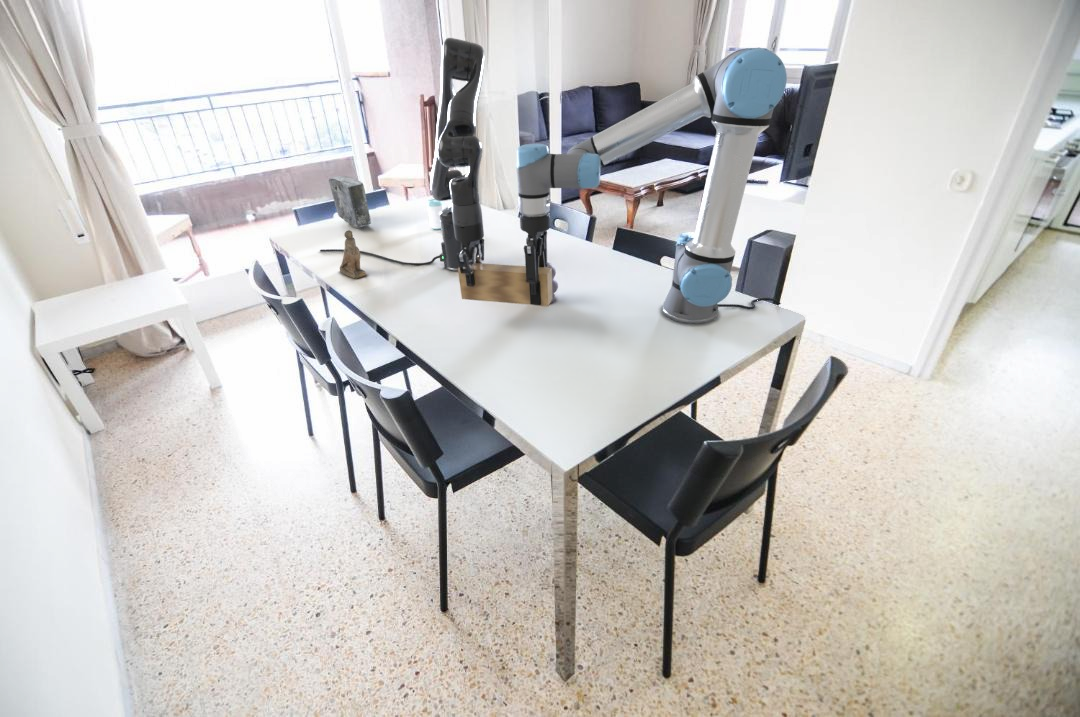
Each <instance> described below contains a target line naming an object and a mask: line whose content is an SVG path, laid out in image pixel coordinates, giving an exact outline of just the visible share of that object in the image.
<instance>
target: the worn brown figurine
mask: <svg viewBox="0 0 1080 717" xmlns="http://www.w3.org/2000/svg"><path fill="white" fill-rule="evenodd" d="M343 236H344V238H346V239H345V240H344V252H342V254H343V255H342V261H341V264H340V266H339V273H341V274H343V275H344V276H347V277H350V278H352V279H356V280H357V279H360V278H362V277H366V276H367V273H366V271H365V270H363V269H362V268H361V253H360V251H361V250H360V249H359V247H358V246H357V244H356V243H357V242H356V239H355V237H354V234H353V231H351V229H348V230H346V231H345V232H344V234H343Z"/></svg>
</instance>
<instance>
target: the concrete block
mask: <svg viewBox="0 0 1080 717" xmlns="http://www.w3.org/2000/svg"><path fill="white" fill-rule="evenodd" d="M328 183H329V188H330V191H331V195H332V198H333V202H334V206H335V209H336V212H337V215H338V217H339V218H341V219H342V220H344V221H345V222H346V224H347V223H348V224H349V225H350V226H351V227H353V228H358V229H359V228H362V227H365V226H369V225H371V224H372V220H371V214H370V210H369V205H368V199H367V194H366V190H365V185H364V183H363V182H362V181H360V180H358V179H357V178H354V177H351V176H347V175H339V176H334V177H333V176H332V177H330V178H329V179H328Z"/></svg>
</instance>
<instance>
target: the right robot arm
mask: <svg viewBox="0 0 1080 717" xmlns="http://www.w3.org/2000/svg"><path fill="white" fill-rule="evenodd" d="M787 76H788V75H787V69H786V66H785V64H784V62H783V60H782V59H781V58H780V57H779V55H777V54H776V53H775V52H773V51H772V50H769V49H768V48H762V47H750V48H741V49H737V50H735V51H733V52H731V53H729V54H728V55H726V56H724V58H722V59H721V60H719V61H717V63H715V64H714V65H711V67H708V68H707V69H706V70H703V71H702V72H700V73H699V74H697V75H695V76H694V78H693V81H692V82H691V83H690V84H688V85H686V86H684V87H682V88H680V89H678V90H677V91H675V92H673V93H671V94H669V95H668V96H666V97H663V98H662V99H660V100H658V101H656V102H654V103H652V104H651V105H649V106H647V107H645V108H643V109H641V110H639V111H637V112H635V113H634V114H631V115H630V116H628V117H627V118H626V117H625V119H623V120H620V121H618V122H617V123H615V124H613V125H611V126H610V127H607V128H606V129H604V130H602V131H600V132H598V133H596V134H594V135H593V136H592V137H589V138H587V139H585V140H583V141H580V142H577V143H575V144H573V145H571V146H570V148H569V149H568V150H567V152H566V153H550V151H549V146H548V145H547V144H545V143H528V144H527V143H526V144H522V145H520V146H519V147H518V148H517V149H516V167H515V168H516V178H517V192H518V194H517V195H518V196H517V197H518V212H519V213H520V214H519V229H520V230H521V231H523V232H525V233H527V237H526V239H525V240H526V241H525V242H526V243H525V244H526V245H524V246H523V253H524V260H525V261H524V265H525V266H526V282H527V283H529V286H530V304H531V305H530V306H540V305H541V291H540V281H539V267H546V268H547V266H548V264H547V262H548V244H547V243H548V240H547V239H548V232H547V231H548V230H550V228H551V214H550V213H549V212H550V210H551V204H552V203H553V201H552V199H550V189H583V190H586V189H595V188H598V187H599V186H600V184H601V168H603V167H605V166H606V165H608V164H610V163H613V162H614V161H616V160H618V159H621V158H622V157H624V156H626V155H628V154H630V153H633V152H634V151H636V150H638V149H640V148H643V147H645V146H646V145H648V144H650V143H652V142H654V141H657V140H658V139H661V138H662V137H664V136H666V135H668V134H670V133H672V132H675V131H676V130H679V129H681V128H682V127H684V126H686V125H688V124H690V123H693V122H694V121H696V120H699V119H701V118H702V117H706V118H709V119H710V118H711V124H712V126H714V128H715V130H716V133H715V137H714V142H713V146H712V152H711V156H710V160H709V165H708V170H707V175H706V178H705V183H704V184H705V185H704V188H703V193H702V197H701V198H702V199H701V202H700V208H699V211H698V217H697V221H696V225H695V231H689V232H688V231H687V232H683V233H681V234H679V235H678V237H677V240H676V243H675V254H674V264H673V271H672V279H671V280H672V282H671V283H672V284H671V287H670V289H669V291H668V292H667V295H666V297H665V299H664V301H663V305H662V313H663V315H664V316H665V317H666V318H668V319H669V320H672V321H673V322H677V323H681V324H687V325H703V324H709V323H711V322H713V321H715V320H716V319H717V317H718V315H719V314H718V313H719V308H741V309H745V310H754V309H755V308H756V303H758V302H763V301H770V302H773V303H776V304H777V305H781V304H782V303H781V302H780V301H779V300H777V299H775V298H772V297H761V298H755V299H752V300H751V301H750V305H751V306H748V305H744V304H737V303H721V302H722V301H724V300H725V299H726V298H727V297H728V296H729V294H730V292H731V290H732V286H733V277H732V274H731V271H732V269H733V263H734V260H735V256H736V252H737V251H736V250H735V248H734V247H733V246H732V240H733V237H734V233H735V229H736V225H737V222H738V218H739V214H740V210H741V206H742V202H743V197H744V194H745V191H746V186H747V182H748V178H749V174H750V172H751V167H752V163H753V158H754V155H755V151H756V147H757V143H758V139H759V136H760V134H761V133H762V132H764V131H765V130H767V129H768V128H769V127H770V123H771V120H772V118H773V112H774V109H775V107H777V105H778V104H779V102H780V101H781V99H782V98H783V95H784V93H785V91H786V86H787V80H788V79H787V78H788V77H787ZM757 300H758V301H757Z"/></svg>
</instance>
